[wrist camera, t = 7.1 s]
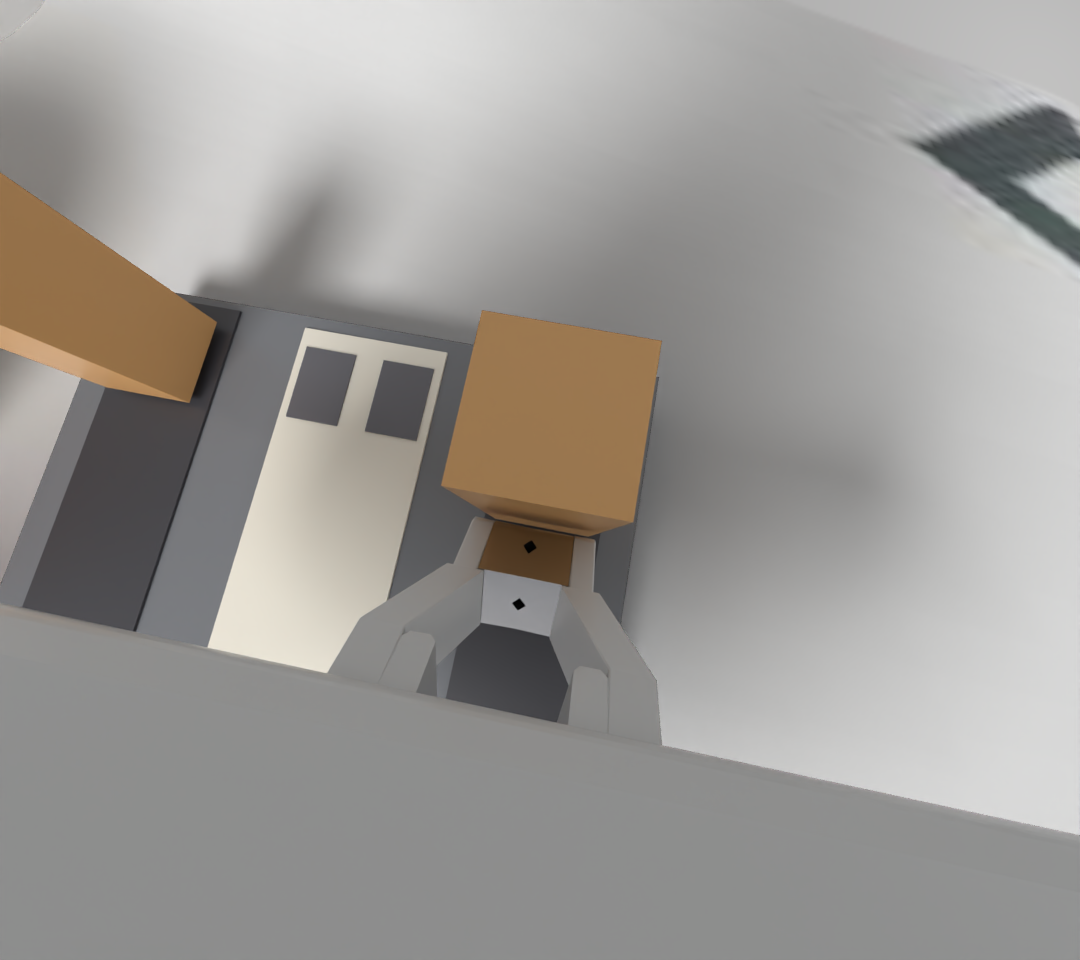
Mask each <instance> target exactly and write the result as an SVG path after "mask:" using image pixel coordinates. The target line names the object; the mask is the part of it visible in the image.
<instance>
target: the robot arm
mask: <svg viewBox="0 0 1080 960" xmlns="http://www.w3.org/2000/svg"><path fill="white" fill-rule="evenodd" d="M595 548H596V542H595V540H594V539H588V538H583V537H577V536H570V535H565V534H560V533H554V532H549V531H544V530H538V529H533V528H528V527H523V526H519V525H514V524H510V523H505V522H501V521H494V520H489V519H485V518H480V517H476V516H475V518H474V519H473V520H472V522H471V524H470V526H469V529H468V531H467V533H466V536H465V538H464V540H463V543H462V545H461V547H460V550H459V552H458V554H457V557H456V559H455V561H454V564H450V563H446V564H445V565H443V566H442V567H440V568H438V569H437V570H435V571H434V572H432V573H430V574H429V575H427V576H426V577H424V578H422V579H421V580H419V581H418V582H416V583H415V584H413V585H411V586H410V587H408V588H407V589H405V590H403V591H402V592H400V593H399V594H397V595H395V596H394V597H392V598H391V599H389V600H387V601H386V602H384V603H383V604H381V605H379V606H378V607H376V608H375V609H373V610H371V611H370V612H368V613H367V614H365V615H364V616H362V617H360V619H359V620H358V622H357V624H356V625H355V627H354V629H353V630H352V632H351V634H350V635H349V637H348V639H347V640H346V642H345V644H344V645H343V647H342V649H341V650H340V652H339V654H338V655H337V657H336V659H335V660H334V662H333V664H332V666H331V667H330V669H329V671H328V672H327V673H323V672H319V671H314V670H310V669H305V668H300V667H296V666H291V665H286V664H282V663H277V662H272V661H268V660H263V659H259V658H254V657H249V656H245V655H240V654H235V653H231V652H226V651H221V650H217V649H212V648H208V647H203V646H198V645H194V644H189V643H184V642H180V641H175V640H171V639H166V638H161V637H157V636H152V635H147V634H143V633H138V632H134V631H129V630H124V629H120V628H115V627H110V626H106V625H101V624H97V623H92V622H87V621H83V620H78V619H74V618H69V617H64V616H60V615H55V614H50V613H46V612H41V611H37V610H32V609H27V608H23V607H18V606H13V605H9V604H4V603H0V960H1080V835H1076V834H1072V833H1067V832H1063V831H1058V830H1053V829H1049V828H1044V827H1039V826H1035V825H1030V824H1025V823H1021V822H1016V821H1011V820H1007V819H1002V818H997V817H993V816H988V815H983V814H979V813H974V812H969V811H965V810H960V809H956V808H951V807H946V806H942V805H937V804H932V803H928V802H923V801H918V800H914V799H909V798H904V797H900V796H895V795H891V794H886V793H881V792H877V791H872V790H867V789H863V788H858V787H853V786H849V785H844V784H839V783H835V782H830V781H825V780H821V779H816V778H812V777H807V776H802V775H798V774H793V773H788V772H784V771H779V770H774V769H770V768H765V767H760V766H756V765H751V764H747V763H742V762H737V761H733V760H728V759H723V758H719V757H714V756H709V755H705V754H700V753H695V752H691V751H686V750H682V749H677V748H672V747H668V746H663V745H662V740H661V728H660V716H659V704H658V692H657V680H656V679H655V677H654V676H653V674H652V673H651V671H650V670H649V668H648V667H647V665H646V664H645V662H644V661H643V659H642V657H641V656H640V654H639V653H638V651H637V650H636V648H635V647H634V645H633V644H632V642H631V641H630V639H629V638H628V636H627V635H626V633H625V632H624V630H623V629H622V627H621V625H620V624H619V622H618V621H617V619H616V618H615V616H614V615H613V613H612V612H611V610H610V609H609V607H608V606H607V604H606V603H605V601H604V600H603V598H602V597H601V595H600V594H599V593H595V592H593V588H594V568H595ZM480 622H481V623H486V624H492V625H497V626H503V627H509V628H514V629H519V630H523V631H527V632H532V633H536V634H540V635H544V636H549V637H550V638H549V639H550V641H551V643H552V646H553V648H554V651H555V653H556V656H557V658H558V661H559V663H560V666H561V668H562V670H563V673H564V675H565V678H566V680H567V683H568V685H569V686H568V689H567V692H566V696H565V699H564V702H563V705H562V708H561V711H560V714H559V717H558V720H557V723H556V722H551V721H547V720H542V719H538V718H533V717H528V716H524V715H519V714H514V713H510V712H505V711H500V710H496V709H491V708H486V707H482V706H477V705H472V704H468V703H463V702H458V701H454V700H449V699H444V698H440V697H437V674H436V666H437V665H438V664H439V663H440V662H441V661H442V660H443V659H444V658H445V657H446V656H447V655H448V654H449V653H450V652H451V651H452V650H454V649H455V648H456V647H457V646H458V645H459V644H460V643H461V642H462V641H463V640H464V639H465V638H466V637H467V636H468V635H469V634H470V633H472V632H473V631H474V630H475V629H476V628H477V627H478V626H479V625H480Z"/></svg>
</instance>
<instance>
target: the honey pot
mask: <svg viewBox="0 0 1080 960" xmlns="http://www.w3.org/2000/svg"><path fill="white" fill-rule="evenodd" d="M44 1H45V0H0V41H2V40H3V39H5V38H7V37H9V36H10V35H12V34H13V33H14V32H15V31H16V30H17V29H19V28H20V27H21V26H22V25H23V24H24V23H25V22H26V21H27V20H28V19H30V18H31V17H32V16H33V15H34V14H35V13H36V12H37V11H38V10H39V8H40V7H41V5H42V4H43V3H44Z"/></svg>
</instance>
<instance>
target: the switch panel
mask: <svg viewBox="0 0 1080 960" xmlns="http://www.w3.org/2000/svg"><path fill="white" fill-rule="evenodd" d="M175 294H177V295H178V296H180V297H181V298H183V299H184V300H186V301H187V302H188V303H190V304H191V305H193V306H194V307H196V308H197V309H199V310H200V311H201V312H203V313H204V314H206V315H207V316H209V317H210V318H212V319H213V320H215V321H216V322H217V324H216V327H215V330H214V333H213V336H212V339H211V341H210V344H209V347H208V350H207V353H206V356H205V359H204V362H203V365H202V368H201V371H200V374H199V376H198V379H197V382H196V385H195V388H194V391H193V394H192V397H191V400H190V403H188V402H182V401H177V400H172V399H166V398H161V397H155V396H150V395H145V394H139V393H134V392H129V391H123V390H118V389H113V388H107V387H104V386H102V385H99V384H96V383H93V382H91V381H88V380H85V379H83V378H81V380H80V382H79V385H78V387H77V390H76V392H75V395H74V398H73V400H72V403H71V405H70V408H69V410H68V413H67V415H66V418H65V421H64V423H63V426H62V428H61V431H60V433H59V436H58V439H57V441H56V444H55V446H54V449H53V451H52V454H51V456H50V459H49V462H48V464H47V467H46V469H45V472H44V474H43V477H42V480H41V482H40V485H39V487H38V490H37V492H36V495H35V497H34V500H33V503H32V505H31V508H30V510H29V513H28V515H27V518H26V521H25V523H24V526H23V528H22V531H21V533H20V536H19V538H18V541H17V544H16V546H15V549H14V551H13V554H12V556H11V559H10V561H9V564H8V567H7V569H6V572H5V574H4V577H3V579H2V582H1V585H0V603H4V604H9V605H13V606H18V607H23V608H27V609H32V610H37V611H41V612H46V613H50V614H55V615H60V616H64V617H69V618H74V619H78V620H83V621H87V622H92V623H97V624H101V625H106V626H110V627H115V628H120V629H124V630H129V631H134V632H138V633H143V634H147V635H152V636H157V637H161V638H166V639H171V640H175V641H180V642H184V643H189V644H194V645H198V646H203V647H208V648H212V649H217V650H221V651H226V652H231V653H235V654H240V655H245V656H249V657H254V658H259V659H263V660H268V661H272V662H277V663H282V664H286V665H291V666H296V667H300V668H305V669H310V670H314V671H319V672H323V673H327V672H328V671H329V669H330V667H331V666H332V664H333V662H334V660H335V659H336V657H337V655H338V654H339V652H340V650H341V649H342V647H343V645H344V644H345V642H346V640H347V639H348V637H349V635H350V634H351V632H352V630H353V629H354V627H355V625H356V624H357V622H358V620H359V619H360V617H362V616H364V615H365V614H367V613H368V612H370V611H371V610H373V609H375V608H376V607H378V606H379V605H381V604H383V603H384V602H386V601H387V600H389V599H391V598H392V597H394V596H395V595H397V594H399V593H400V592H402V591H403V590H405V589H407V588H408V587H410V586H411V585H413V584H415V583H416V582H418V581H419V580H421V579H422V578H424V577H426V576H427V575H429V574H430V573H432V572H434V571H435V570H437V569H438V568H440V567H442V566H443V565H445V564H446V563H450V564H454V561H455V559H456V557H457V554H458V552H459V550H460V547H461V545H462V543H463V540H464V538H465V536H466V533H467V531H468V529H469V526H470V524H471V522H472V520H473V519H474V518H475V516H476V517H480V518H485V519H489V520H494V521H501V522H505V523H510V524H514V525H519V526H523V527H528V528H533V529H538V530H544V531H549V532H554V533H560V534H565V535H570V536H577V537H583V538H588V539H594V540H595V542H596V548H595V568H594V588H593V592H595V593H599V594H600V595H601V597H602V598H603V600H604V601H605V603H606V604H607V606H608V607H609V609H610V610H611V612H612V613H613V615H614V616H615V618H616V619H617V621H618V622H619V624H621V617H622V611H623V605H624V598H625V592H626V585H627V579H628V572H629V566H630V560H631V553H632V547H633V540H634V534H635V527H636V521H637V515H638V508H639V502H640V495H641V489H642V482H643V476H644V470H645V463H646V457H647V450H648V444H649V437H650V431H651V425H652V418H653V412H654V405H655V399H656V393H657V386H658V380H659V377H656V381H655V387H654V394H653V400H652V406H651V413H650V419H649V426H648V432H647V438H646V445H645V451H644V457H643V464H642V470H641V477H640V483H639V489H638V496H637V502H636V509H635V515H634V521H633V523H630V524H627V525H623V526H620V527H617V528H614V529H611V530H608V531H604V532H601V533H598V534H595V535H592V536H589V537H587V536H582V535H577V534H572V533H566V532H561V531H556V530H551V529H546V528H541V527H535V526H530V525H525V524H520V523H515V522H510V521H504V520H499V519H495V518H493V517H492V516H490V515H488V514H487V513H485V512H483V511H482V510H480V509H479V508H477V507H475V506H474V505H472V504H470V503H469V502H467V501H465V500H464V499H462V498H460V497H459V496H457V495H456V494H454V493H452V492H451V491H449V490H447V489H446V488H444V487H442V486H441V484H442V479H443V475H444V471H445V466H446V462H447V458H448V454H449V449H450V445H451V441H452V437H453V432H454V428H455V424H456V419H457V415H458V411H459V407H460V402H461V398H462V394H463V389H464V385H465V381H466V377H467V372H468V368H469V364H470V360H471V355H472V351H473V347H474V345H472V344H466V343H460V342H454V341H449V340H443V339H437V338H432V337H426V336H420V335H414V334H409V333H403V332H397V331H391V330H386V329H380V328H374V327H368V326H363V325H357V324H351V323H345V322H340V321H334V320H328V319H322V318H317V317H311V316H305V315H300V314H294V313H288V312H282V311H277V310H271V309H265V308H259V307H254V306H248V305H242V304H236V303H231V302H225V301H219V300H213V299H208V298H202V297H196V296H191V295H185V294H179V293H175ZM549 638H550V637H549V636H544V635H540V634H536V633H532V632H527V631H523V630H519V629H514V628H509V627H503V626H497V625H492V624H486V623H481V622H480V625H479V626H478V627H477V628H476V629H475V630H474V631H473V632H472V633H470V634H469V635H468V636H467V637H466V638H465V639H464V640H463V641H462V642H461V643H460V644H459V645H458V646H457V647H456V648H455V649H454V650H452V651H451V652H450V653H449V654H448V655H447V656H446V657H445V658H444V659H443V660H442V661H441V662H440V663H439V664H438V665H437V666H436V674H437V697H440V698H444V699H449V700H454V701H458V702H463V703H468V704H472V705H477V706H482V707H486V708H491V709H496V710H500V711H505V712H510V713H514V714H519V715H524V716H528V717H533V718H538V719H542V720H547V721H551V722H556V723H557V720H558V717H559V714H560V711H561V708H562V705H563V702H564V699H565V696H566V692H567V689H568V686H569V685H568V683H567V680H566V678H565V675H564V673H563V670H562V668H561V666H560V663H559V661H558V658H557V656H556V653H555V651H554V648H553V646H552V643H551V641H550V639H549Z"/></svg>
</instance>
